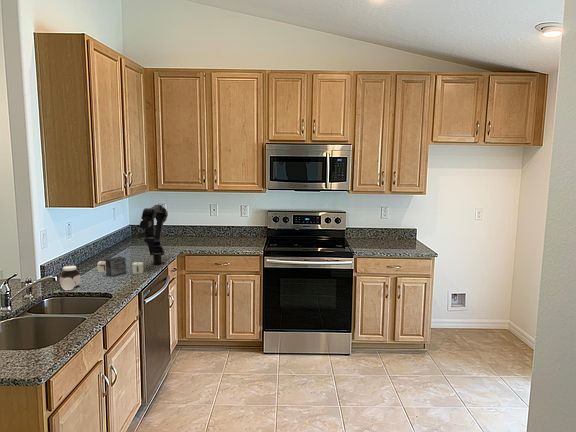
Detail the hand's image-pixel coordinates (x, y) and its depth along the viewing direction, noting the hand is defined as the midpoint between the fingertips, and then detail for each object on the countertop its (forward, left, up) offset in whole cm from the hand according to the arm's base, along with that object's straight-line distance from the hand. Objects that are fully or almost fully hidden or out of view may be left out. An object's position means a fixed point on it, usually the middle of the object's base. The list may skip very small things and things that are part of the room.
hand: (150, 250), depth 296 cm
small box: (+11, -20, -12) cm, 26 cm away
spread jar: (+37, -41, -12) cm, 56 cm away
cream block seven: (+1, -29, -12) cm, 32 cm away
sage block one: (+9, -7, -12) cm, 16 cm away
